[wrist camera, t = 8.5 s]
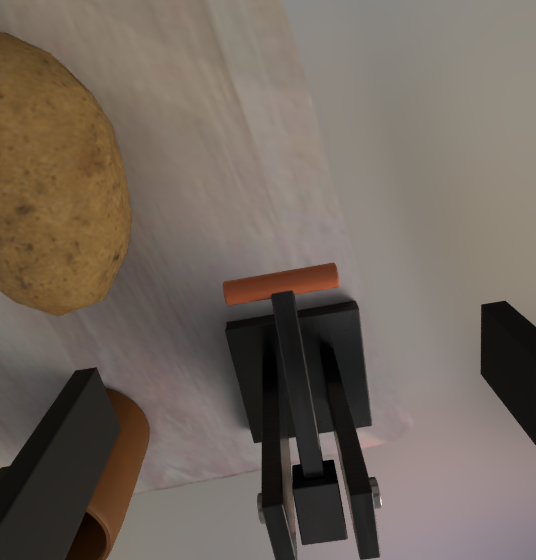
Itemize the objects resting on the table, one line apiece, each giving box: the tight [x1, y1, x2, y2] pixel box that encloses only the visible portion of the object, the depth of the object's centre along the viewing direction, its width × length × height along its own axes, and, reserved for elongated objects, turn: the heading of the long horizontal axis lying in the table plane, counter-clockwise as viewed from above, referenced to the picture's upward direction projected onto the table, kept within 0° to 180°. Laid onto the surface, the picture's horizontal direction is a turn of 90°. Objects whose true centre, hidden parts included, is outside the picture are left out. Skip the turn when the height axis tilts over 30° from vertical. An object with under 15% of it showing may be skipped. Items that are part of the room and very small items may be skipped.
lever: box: [223, 263, 348, 545], centre depth 22 cm, size 13×6×2 cm, turn 10°
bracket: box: [225, 301, 382, 560], centre depth 26 cm, size 10×9×13 cm
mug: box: [65, 389, 149, 560], centre depth 29 cm, size 12×8×9 cm, turn 101°
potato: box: [0, 32, 132, 316], centre depth 22 cm, size 10×14×8 cm
